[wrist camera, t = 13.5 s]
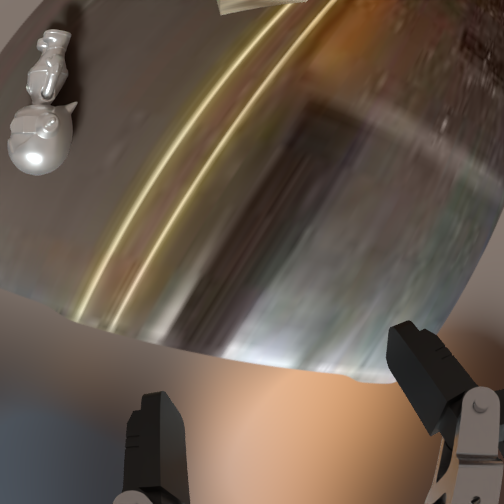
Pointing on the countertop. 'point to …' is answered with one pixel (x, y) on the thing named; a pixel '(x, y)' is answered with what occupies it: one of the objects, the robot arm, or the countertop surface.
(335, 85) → the countertop surface
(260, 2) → the oak block
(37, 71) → the figurine
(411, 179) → the countertop surface
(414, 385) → the robot arm
